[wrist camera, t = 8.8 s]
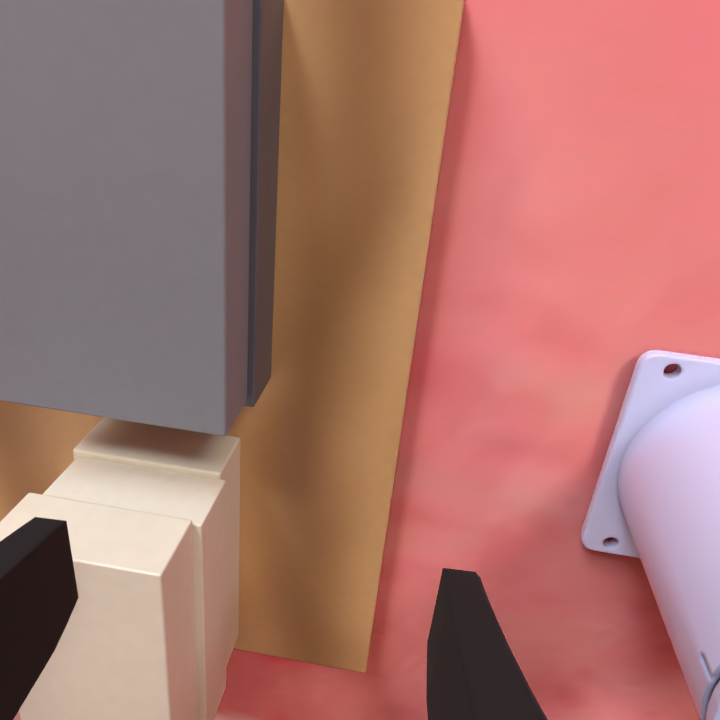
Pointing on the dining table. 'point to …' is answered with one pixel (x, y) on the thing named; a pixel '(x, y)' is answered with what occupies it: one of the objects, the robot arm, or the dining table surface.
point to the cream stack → (176, 499)
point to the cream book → (119, 616)
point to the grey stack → (139, 206)
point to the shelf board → (321, 325)
